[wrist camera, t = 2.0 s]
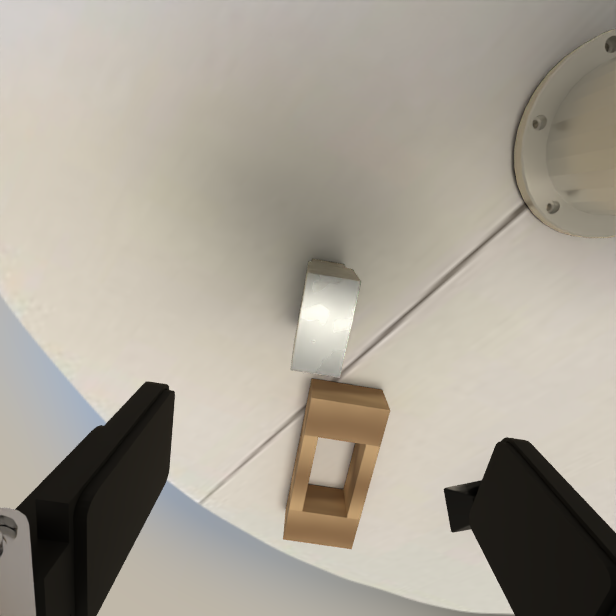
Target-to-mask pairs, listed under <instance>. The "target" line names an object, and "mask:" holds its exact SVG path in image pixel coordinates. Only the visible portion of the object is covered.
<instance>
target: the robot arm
mask: <svg viewBox="0 0 616 616" xmlns="http://www.w3.org/2000/svg"><path fill="white" fill-rule="evenodd" d="M533 123H534V127H533ZM514 169H515V174H516V180H517V185H518V187H519V190H520V192H521V195H522V197H523V200H524V201H525V203H526V204H527V206H528V207H529V209H530V210H531V212H532V213H533V214H534V215H535V216H536V217H537V218H538V219H539V220H541V221H542V222H543V223H544V224H545V225H547V226H549V227H551V228H553V229H554V230H556V231H558V232H561V233H565V234H568V235H571V236H577V237H585V238H609V237H614V236H616V29H613V30H610V31H607V32H605V33H603V34H601V35H599V36H597V37H595V38H594V39H592V40H590V41H588V42H586V43H585V44H583V45H582V46H580V47H579V48H577V49H576V50H574V51H573V52H571V53H570V54H568V55H567V56H566V57H564V58H563V59H562V60H561V61H560V62H559V63H558V64H557V65H556V66H555V67H554V68H553V69H552V70H551V71H550V72H549V73H548V74H547V76H546V77H545V78H544V79H543V81H542V82H541V83H540V85H539V86H538V87H537V89H536V90H535V92H534V94H533V95H532V97H531V99H530V101H529V103H528V104H527V106H526V108H525V111H524V113H523V116H522V119H521V122H520V124H519V127H518V131H517V137H516V142H515V148H514ZM174 400H175V392H174V391H171V390H169V386H168V385H167V384H161V383H155V382H145V383H144V384H143V385H142V386H141V387H140V388H139V389H138V390H137V391H136V393H135V394H134V395H133V396H132V397H131V398H130V399H129V400H128V401H127V402H126V403H125V404H124V405H123V406H122V407H121V408H120V410H119V411H118V412H117V413H116V414H115V415H114V416H113V417H112V418H111V419H110V420H109V421H108V422H107V423H106V424H105V426H102V425H101V426H98V427H96V428H95V429H94V430H92V431H91V432H90V433H89V434H88V435H87V436H86V437H85V438H84V439H83V440H82V442H80V444H79V445H78V446H77V447H76V448H75V449H74V450H73V451H72V452H71V453H70V454H69V455H68V456H67V457H66V458H65V459H64V460H63V461H62V462H61V463H60V464H59V465H58V466H57V467H56V468H55V469H54V470H53V471H52V472H51V473H50V474H49V475H48V476H47V477H46V478H45V479H44V480H43V481H42V482H41V484H40V485H39V486H38V487H37V488H36V489H35V490H34V491H33V492H32V493H31V494H30V495H29V496H28V497H27V498H26V499H25V500H24V501H23V502H22V503H21V504H20V505H19V506H18V507H17V508H16V509H15V510H14V509H10V508H0V616H96V615H97V614H98V612H99V610H100V608H101V606H102V604H103V602H104V600H105V598H106V596H107V594H108V593H109V591H110V589H111V587H112V585H113V583H114V581H115V579H116V577H117V575H118V573H119V571H120V570H121V568H122V565H123V564H124V562H125V560H126V558H127V556H128V554H129V552H130V550H131V548H132V547H133V545H134V542H135V541H136V539H137V537H138V535H139V533H140V531H141V529H142V527H143V525H144V523H145V521H146V520H147V518H148V516H149V514H150V512H151V510H152V508H153V506H154V504H155V502H156V500H157V499H158V497H159V495H160V493H161V491H162V489H163V487H164V485H165V483H166V480H167V477H168V474H169V467H170V453H171V440H172V427H173V413H174ZM469 524H470V527H471V529H472V531H473V533H474V535H475V537H476V539H477V541H478V543H479V545H480V547H481V549H482V551H483V553H484V555H485V557H486V559H487V561H488V563H489V565H490V567H491V569H492V571H493V573H494V575H495V577H496V579H497V581H498V583H499V584H500V586H501V588H502V590H503V592H504V594H505V596H506V598H507V600H508V602H509V604H510V606H511V608H512V610H513V612H514V614H515V616H616V533H615V532H614V531H613V530H612V529H611V528H610V527H609V525H608V524H607V523H606V522H605V521H604V520H603V519H602V518H601V517H600V516H599V515H598V514H597V513H596V512H595V511H594V510H593V509H592V507H591V506H590V505H589V504H588V503H587V502H586V501H585V500H584V499H583V498H582V497H581V496H580V495H579V494H578V493H577V492H576V491H575V490H574V488H573V487H572V486H571V485H570V484H569V483H568V482H567V481H566V480H565V479H564V478H563V477H562V476H561V475H560V474H559V473H558V472H557V471H556V469H555V468H554V467H553V466H552V465H551V464H550V463H549V462H548V461H547V460H546V459H545V458H544V457H543V456H542V455H541V454H540V453H539V451H538V450H537V449H536V448H535V447H534V446H533V445H532V444H531V443H530V442H528V441H526V440H520V439H514V438H504V439H503V440H502V441H501V442H498V443H497V444H496V446H495V448H494V451H493V453H492V456H491V459H490V461H489V464H488V466H487V469H486V471H485V474H484V477H483V479H482V482H481V484H480V487H479V489H478V492H477V495H476V497H475V500H474V502H473V505H472V507H471V510H470V513H469Z"/></svg>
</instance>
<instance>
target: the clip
mask: <svg viewBox="0 0 616 616" xmlns="http://www.w3.org/2000/svg"><path fill="white" fill-rule="evenodd" d="M360 285H361V281H360V279H359V278H358V276H357V275H356V273H355V272H354V270H353V269H349V268H346V267H345V265H344V264H340V263H335V262H329V261H323V260H318V259H312V262H309V261H308V267H307V272H306V278H305V284H304V289H303V295H302V301H301V307H300V312H299V318H298V324H297V329H296V335H295V341H294V347H293V355H292V362H291V370H294V371H300V372H306V373H312V374H318V375H324V376H331V377H337V378H340V374H341V370H342V365H343V361H344V357H345V352H346V348H347V343H348V339H349V334H350V330H351V325H352V321H353V316H354V312H355V307H356V303H357V298H358V294H359V290H360Z"/></svg>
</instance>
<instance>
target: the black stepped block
mask: <svg viewBox="0 0 616 616" xmlns="http://www.w3.org/2000/svg"><path fill="white" fill-rule="evenodd" d="M481 482H482V480H481V481H477V482H472V483H467V484H462V485H457V486H453V487H448V488H445V489H444V493H445V499H446V505H447V510H448V516H449V521H450V527H451V532H458V531H464V530H469V529H471V527H470V524H469V513H470V510H471V507H472V505H473V502H474V500H475V497H476V495H477V492H478V489H479V487H480V484H481Z"/></svg>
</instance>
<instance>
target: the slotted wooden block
mask: <svg viewBox="0 0 616 616" xmlns="http://www.w3.org/2000/svg"><path fill="white" fill-rule="evenodd" d="M389 413H390V409H389V406H388V403H387V401H386V398H385V396H384V393H383V390H380V389H374V388H368V387H362V386H355V385H349V384H343V383H337V382H331V381H325V380H318V379H311V384H310V389H309V395H308V400H307V405H306V410H305V415H304V420H303V425H302V430H301V435H300V440H299V445H298V450H297V455H296V460H295V465H294V470H293V475H292V480H291V485H290V490H289V496H288V501H287V506H286V512H285V524H284V535H283V539H285V540H291V541H298V542H305V543H312V544H319V545H326V546H333V547H340V548H347V549H352V545H353V542H354V538H355V535H356V531H357V527H358V524H359V520H360V517H361V513H362V510H363V506H364V502H365V499H366V495H367V492H368V488H369V484H370V481H371V477H372V474H373V470H374V467H375V463H376V459H377V456H378V452H379V449H380V445H381V441H382V438H383V434H384V431H385V427H386V424H387V420H388V416H389ZM318 437H321V438H327V439H334V440H340V441H346V442H353V443H355V447H354V451H353V455H352V458H351V462H350V466H349V470H348V474H347V478H346V482H345V486H344V490H343V489H336V488H330V487H323V486H316V485H310V484H308V482H309V477H310V473H311V468H312V464H313V459H314V454H315V450H316V445H317V440H318Z"/></svg>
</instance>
